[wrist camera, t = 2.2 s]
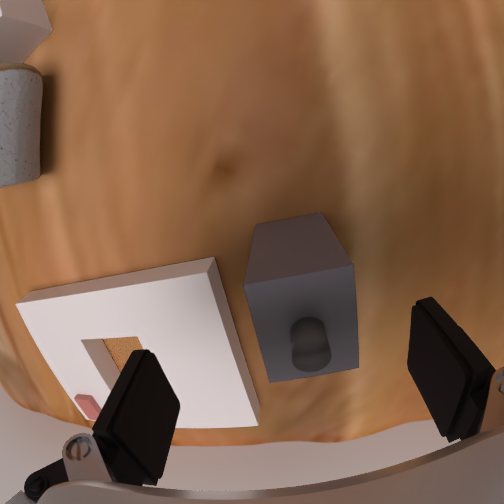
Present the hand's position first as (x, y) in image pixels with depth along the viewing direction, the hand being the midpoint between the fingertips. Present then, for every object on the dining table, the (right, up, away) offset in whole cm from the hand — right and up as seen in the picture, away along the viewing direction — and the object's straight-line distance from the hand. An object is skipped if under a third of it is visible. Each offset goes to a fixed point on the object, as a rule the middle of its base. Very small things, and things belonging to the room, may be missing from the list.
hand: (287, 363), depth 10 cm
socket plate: (-11, -4, +13) cm, 17 cm away
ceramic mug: (-20, +13, +7) cm, 25 cm away
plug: (+2, +4, +9) cm, 10 cm away
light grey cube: (-20, +22, +4) cm, 30 cm away
